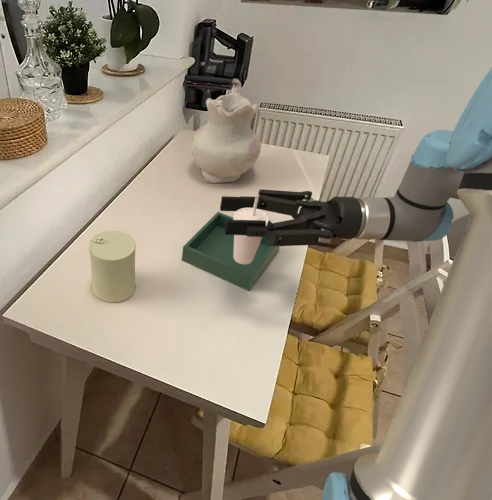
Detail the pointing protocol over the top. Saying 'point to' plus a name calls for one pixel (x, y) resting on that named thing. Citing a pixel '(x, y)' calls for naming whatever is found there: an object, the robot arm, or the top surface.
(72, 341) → the top surface
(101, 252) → the can
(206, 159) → the ceramic pitcher
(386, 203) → the robot arm
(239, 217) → the smoothie
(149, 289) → the top surface
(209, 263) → the bin
